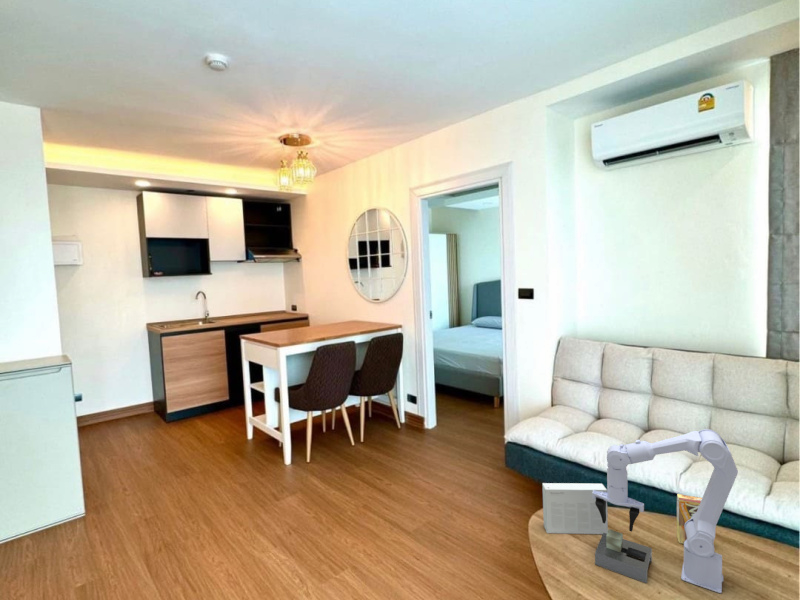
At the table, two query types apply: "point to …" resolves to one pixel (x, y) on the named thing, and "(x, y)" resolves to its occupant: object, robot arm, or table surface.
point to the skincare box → (572, 508)
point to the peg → (614, 540)
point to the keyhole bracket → (624, 559)
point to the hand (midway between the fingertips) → (617, 525)
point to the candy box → (685, 513)
